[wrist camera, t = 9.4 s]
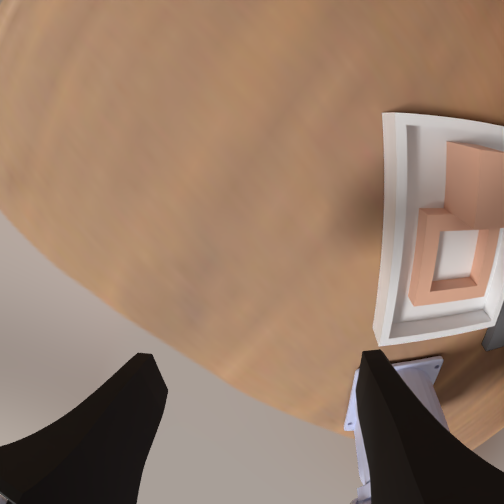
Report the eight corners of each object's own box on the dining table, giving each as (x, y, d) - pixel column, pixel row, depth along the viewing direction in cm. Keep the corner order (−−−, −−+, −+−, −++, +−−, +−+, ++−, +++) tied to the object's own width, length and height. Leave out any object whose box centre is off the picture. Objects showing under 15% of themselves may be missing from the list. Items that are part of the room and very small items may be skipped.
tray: (483, 311, 18) (494, 325, 16) (372, 327, 20) (378, 346, 18) (512, 128, 12) (530, 132, 11) (381, 112, 14) (394, 112, 12)
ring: (476, 287, 17) (499, 315, 14) (407, 296, 18) (426, 329, 15) (496, 147, 13) (531, 157, 10) (420, 139, 14) (451, 146, 10)
